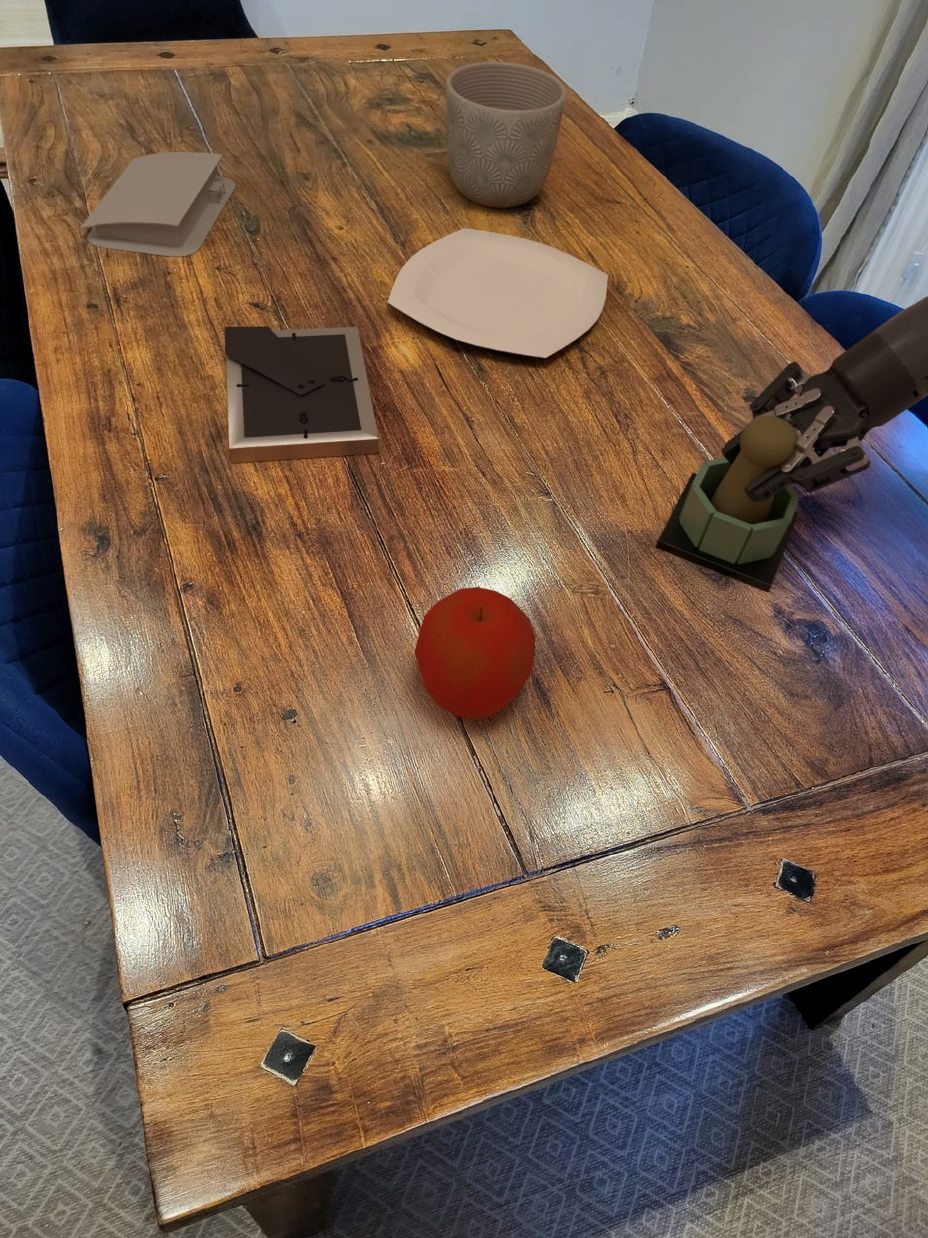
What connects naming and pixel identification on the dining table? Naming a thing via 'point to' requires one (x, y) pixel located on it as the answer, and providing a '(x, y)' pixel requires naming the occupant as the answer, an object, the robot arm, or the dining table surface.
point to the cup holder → (728, 530)
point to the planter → (502, 130)
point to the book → (161, 205)
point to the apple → (475, 652)
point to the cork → (754, 467)
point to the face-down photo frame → (297, 394)
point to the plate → (500, 292)
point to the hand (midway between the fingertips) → (738, 476)
